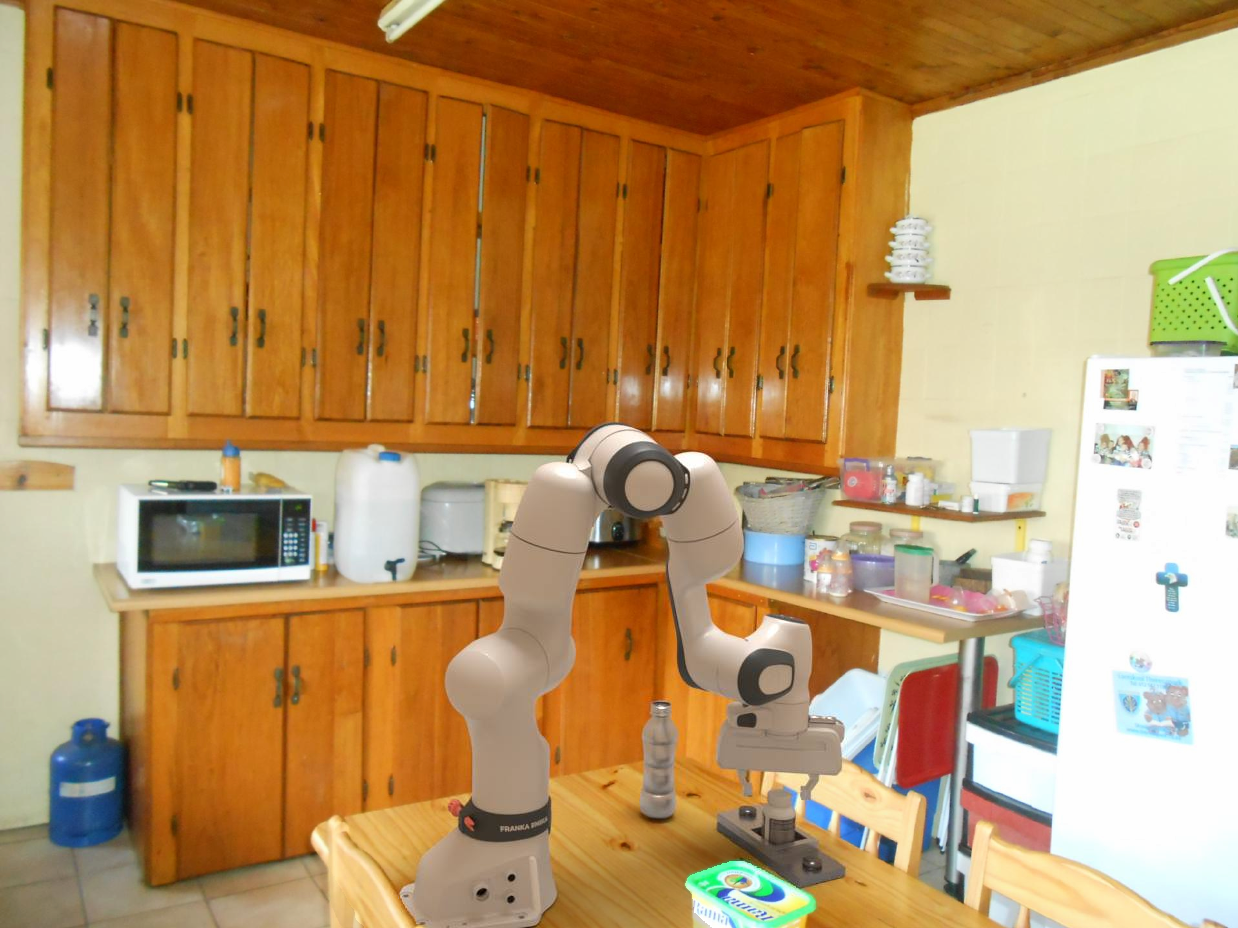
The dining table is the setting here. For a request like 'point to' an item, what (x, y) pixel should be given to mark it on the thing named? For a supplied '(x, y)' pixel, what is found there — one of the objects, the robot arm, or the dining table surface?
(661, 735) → the plastic bottle
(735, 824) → the bottle holder plate
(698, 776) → the dining table surface
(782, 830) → the pill bottle
